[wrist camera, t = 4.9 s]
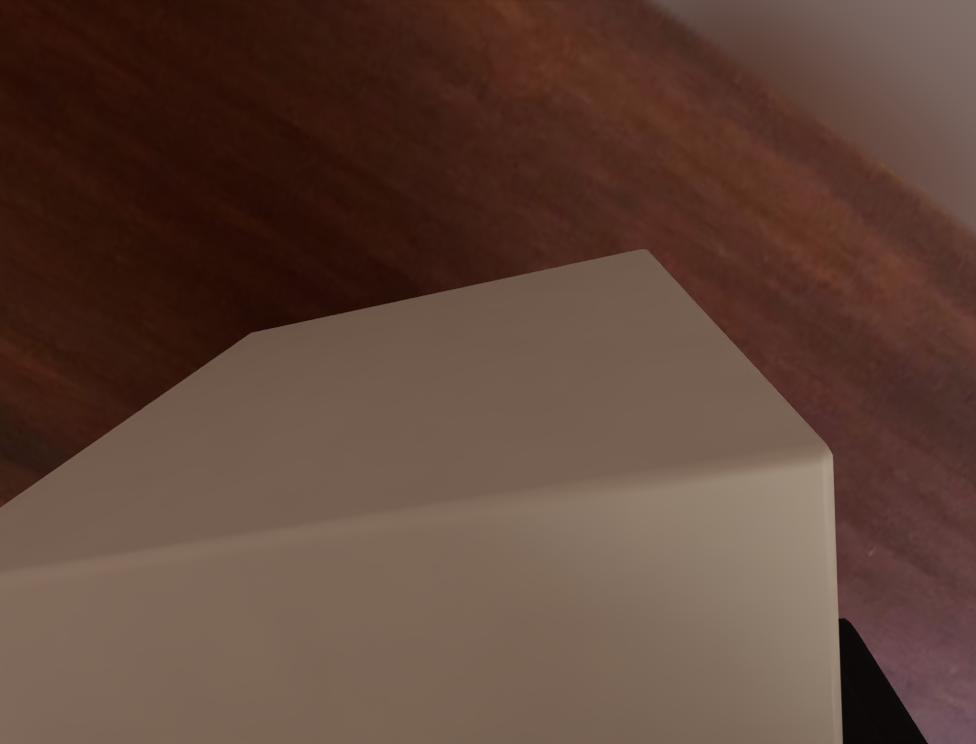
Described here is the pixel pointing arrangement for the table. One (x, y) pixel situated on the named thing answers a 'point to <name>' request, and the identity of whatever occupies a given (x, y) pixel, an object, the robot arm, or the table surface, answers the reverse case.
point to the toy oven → (440, 537)
